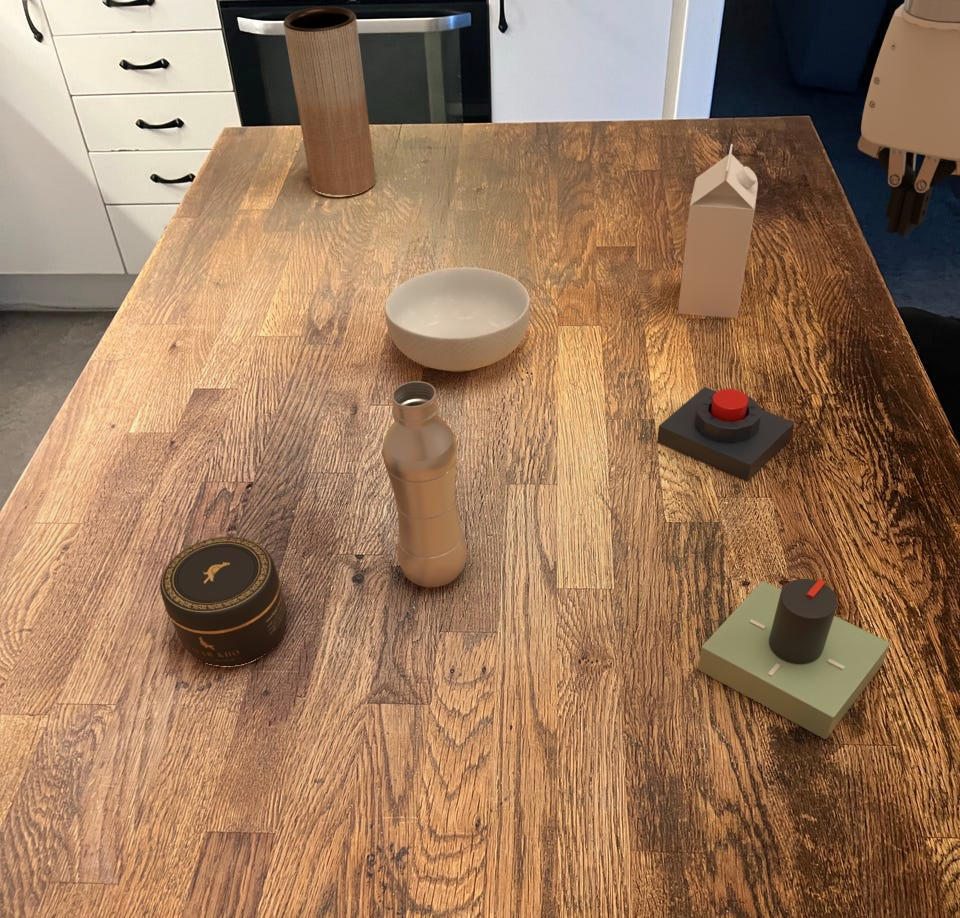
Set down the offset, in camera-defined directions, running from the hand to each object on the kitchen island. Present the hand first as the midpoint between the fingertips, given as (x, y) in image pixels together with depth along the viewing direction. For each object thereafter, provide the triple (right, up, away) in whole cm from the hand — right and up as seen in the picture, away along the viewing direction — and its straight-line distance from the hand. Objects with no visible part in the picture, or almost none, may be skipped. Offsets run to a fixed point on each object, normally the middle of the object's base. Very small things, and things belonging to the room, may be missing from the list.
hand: (902, 228), depth 89 cm
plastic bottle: (-42, -31, +6) cm, 53 cm away
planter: (-59, +33, +64) cm, 93 cm away
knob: (-12, -37, -7) cm, 40 cm away
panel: (-12, -39, -4) cm, 41 cm away
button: (-12, -13, +14) cm, 23 cm away
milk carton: (-10, +3, +34) cm, 36 cm away
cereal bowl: (-40, -3, +31) cm, 51 cm away
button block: (-12, -16, +17) cm, 26 cm away
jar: (-60, -36, +2) cm, 70 cm away
